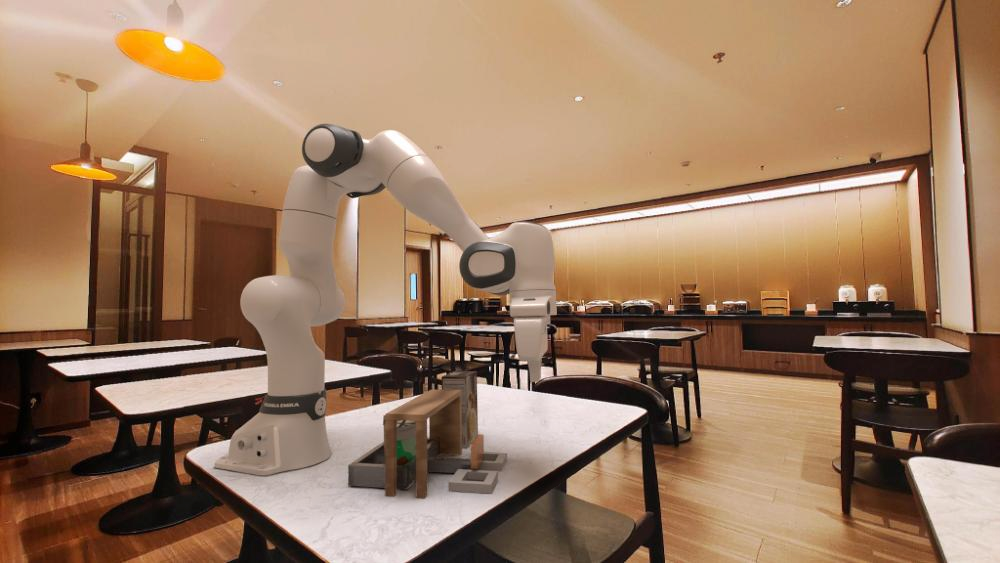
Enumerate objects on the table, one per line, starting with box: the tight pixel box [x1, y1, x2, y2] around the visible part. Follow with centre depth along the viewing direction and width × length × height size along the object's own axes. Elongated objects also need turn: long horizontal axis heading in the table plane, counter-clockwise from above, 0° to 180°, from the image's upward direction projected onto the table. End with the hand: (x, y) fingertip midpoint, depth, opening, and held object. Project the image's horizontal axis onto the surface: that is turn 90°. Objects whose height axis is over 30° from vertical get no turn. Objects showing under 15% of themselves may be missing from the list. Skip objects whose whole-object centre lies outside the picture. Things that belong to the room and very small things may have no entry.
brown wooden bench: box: [384, 389, 463, 499], centre depth 80 cm, size 7×22×14 cm, turn 169°
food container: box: [382, 414, 416, 465], centre depth 80 cm, size 12×6×10 cm, turn 27°
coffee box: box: [441, 370, 479, 449], centre depth 99 cm, size 9×6×16 cm
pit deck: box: [447, 451, 508, 495], centre depth 78 cm, size 8×16×2 cm, turn 170°
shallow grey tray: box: [347, 433, 485, 490], centre depth 80 cm, size 22×18×6 cm
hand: (535, 380), depth 77 cm, fingers closed
